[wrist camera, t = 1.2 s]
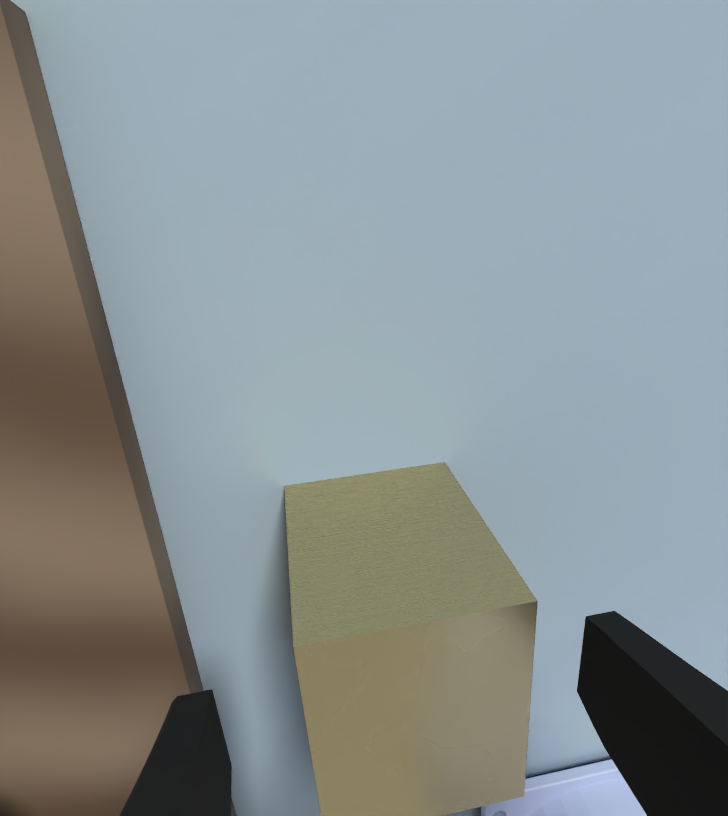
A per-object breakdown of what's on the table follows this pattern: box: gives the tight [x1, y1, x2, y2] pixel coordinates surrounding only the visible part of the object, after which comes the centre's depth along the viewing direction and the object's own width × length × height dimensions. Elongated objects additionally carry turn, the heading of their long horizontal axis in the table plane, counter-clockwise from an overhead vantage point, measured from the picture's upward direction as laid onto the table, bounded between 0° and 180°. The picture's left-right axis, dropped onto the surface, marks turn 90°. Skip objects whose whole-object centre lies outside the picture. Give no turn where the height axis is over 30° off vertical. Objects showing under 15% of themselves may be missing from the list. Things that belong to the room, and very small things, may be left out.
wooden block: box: [284, 462, 537, 816], centre depth 12 cm, size 5×4×5 cm
